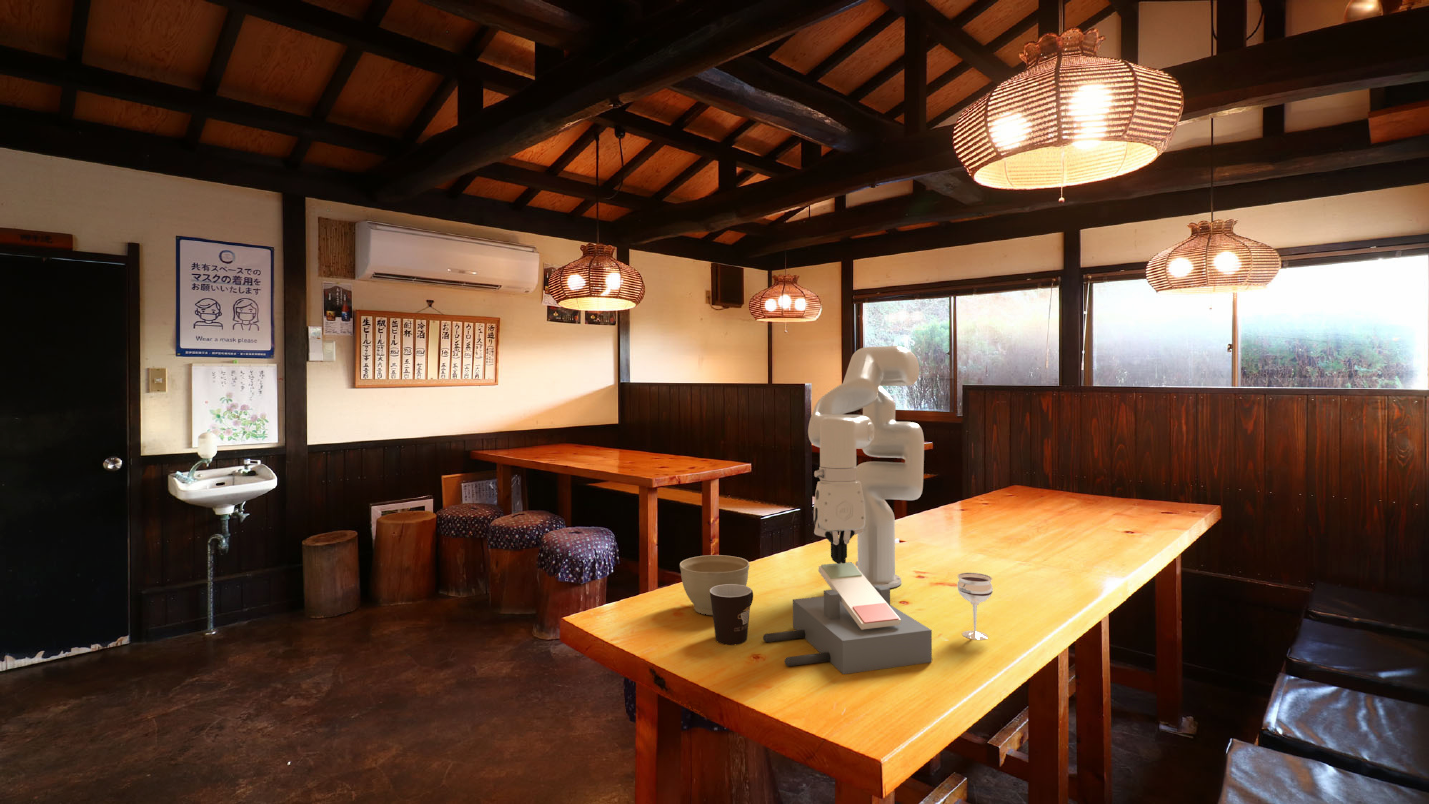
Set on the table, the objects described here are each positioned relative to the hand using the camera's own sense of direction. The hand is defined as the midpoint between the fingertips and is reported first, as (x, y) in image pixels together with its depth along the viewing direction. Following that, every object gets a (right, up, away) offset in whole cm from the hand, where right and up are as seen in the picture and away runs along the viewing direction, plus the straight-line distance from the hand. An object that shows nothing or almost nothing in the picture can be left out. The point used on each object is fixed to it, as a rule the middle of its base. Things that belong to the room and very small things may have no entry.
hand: (838, 561), depth 138 cm
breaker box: (-2, -15, -8) cm, 17 cm away
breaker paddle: (+2, -5, -8) cm, 9 cm away
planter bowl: (-26, -15, +14) cm, 33 cm away
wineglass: (+27, -14, -4) cm, 31 cm away
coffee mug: (-22, -15, -3) cm, 26 cm away
